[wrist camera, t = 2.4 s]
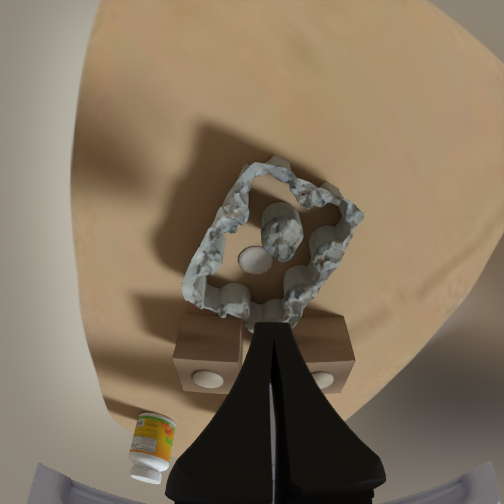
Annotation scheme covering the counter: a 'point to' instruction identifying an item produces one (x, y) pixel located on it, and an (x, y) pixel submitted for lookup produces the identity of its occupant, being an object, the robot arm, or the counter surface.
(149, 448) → the supplement bottle
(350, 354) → the dotted block
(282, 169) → the egg carton
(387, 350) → the counter surface
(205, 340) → the dotted block
